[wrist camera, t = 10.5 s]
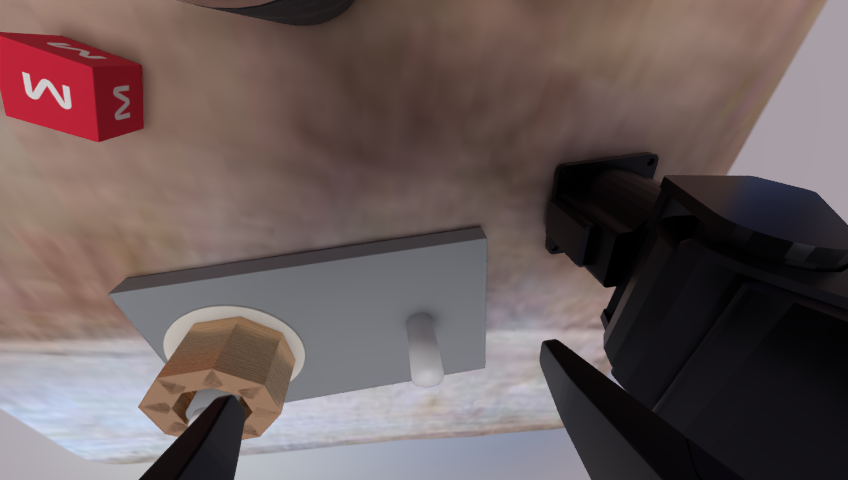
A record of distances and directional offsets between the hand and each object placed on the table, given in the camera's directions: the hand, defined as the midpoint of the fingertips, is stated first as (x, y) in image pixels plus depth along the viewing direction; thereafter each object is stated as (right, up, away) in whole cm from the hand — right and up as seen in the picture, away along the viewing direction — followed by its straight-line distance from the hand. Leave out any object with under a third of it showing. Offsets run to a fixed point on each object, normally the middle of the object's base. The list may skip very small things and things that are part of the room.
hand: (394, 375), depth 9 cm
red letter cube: (-14, +11, +6) cm, 19 cm away
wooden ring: (-12, -4, +13) cm, 18 cm away
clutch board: (-6, -2, +15) cm, 16 cm away
